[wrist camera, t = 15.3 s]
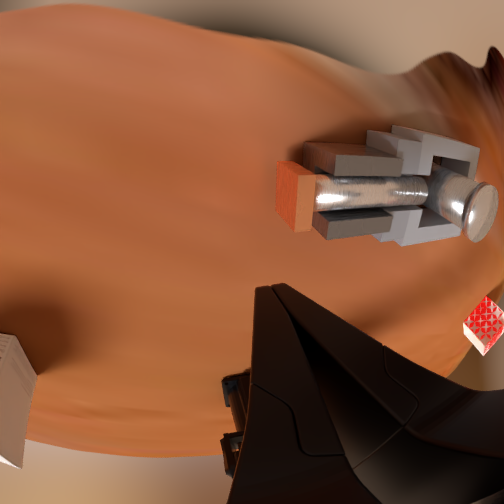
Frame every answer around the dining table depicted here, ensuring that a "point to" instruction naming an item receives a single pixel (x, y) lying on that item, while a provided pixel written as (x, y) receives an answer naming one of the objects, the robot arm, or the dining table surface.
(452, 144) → the socket
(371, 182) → the lock pin
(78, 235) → the dining table surface
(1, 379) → the supplement box
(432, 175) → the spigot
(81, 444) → the dining table surface
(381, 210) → the pin mount
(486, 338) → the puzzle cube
